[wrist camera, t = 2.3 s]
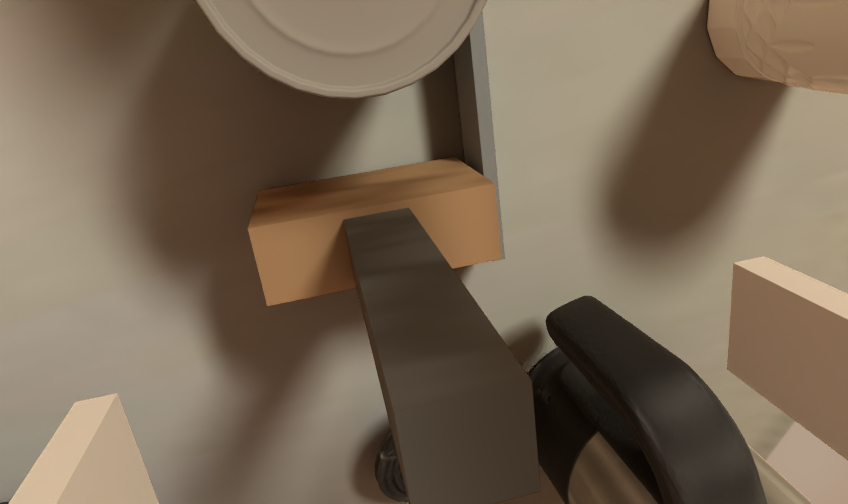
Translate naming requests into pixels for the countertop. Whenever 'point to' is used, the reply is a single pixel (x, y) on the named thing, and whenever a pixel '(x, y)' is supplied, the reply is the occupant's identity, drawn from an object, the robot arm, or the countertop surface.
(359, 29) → the canned tomato
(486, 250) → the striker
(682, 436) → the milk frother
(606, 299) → the countertop surface
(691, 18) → the countertop surface
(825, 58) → the white cup
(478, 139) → the frame
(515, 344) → the countertop surface
